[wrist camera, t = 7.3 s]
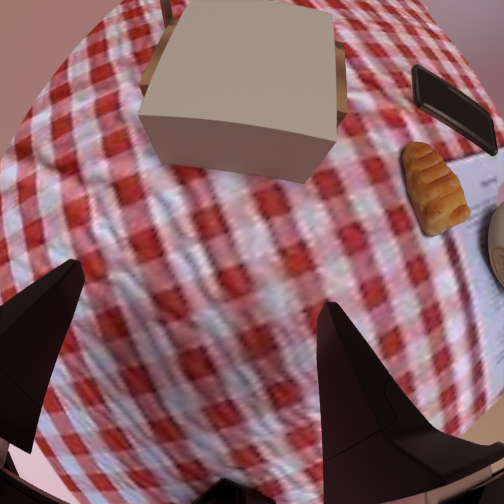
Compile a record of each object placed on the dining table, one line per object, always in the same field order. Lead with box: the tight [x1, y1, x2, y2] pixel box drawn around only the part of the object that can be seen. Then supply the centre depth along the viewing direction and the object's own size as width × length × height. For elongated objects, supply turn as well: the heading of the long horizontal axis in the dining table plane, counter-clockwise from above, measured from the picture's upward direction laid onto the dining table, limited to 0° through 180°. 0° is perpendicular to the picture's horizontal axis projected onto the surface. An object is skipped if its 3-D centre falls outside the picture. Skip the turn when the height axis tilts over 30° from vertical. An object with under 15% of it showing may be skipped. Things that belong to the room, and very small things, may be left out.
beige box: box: [138, 0, 337, 184], centre depth 20 cm, size 14×12×8 cm
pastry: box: [402, 142, 470, 237], centre depth 23 cm, size 9×7×4 cm
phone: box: [411, 65, 498, 156], centre depth 27 cm, size 8×1×15 cm
